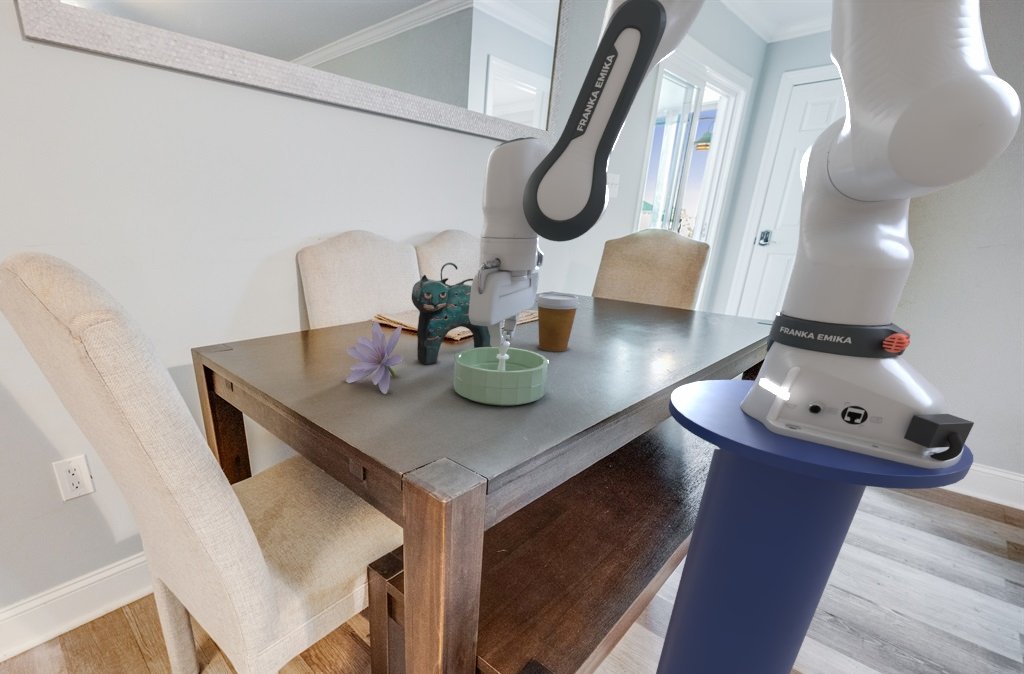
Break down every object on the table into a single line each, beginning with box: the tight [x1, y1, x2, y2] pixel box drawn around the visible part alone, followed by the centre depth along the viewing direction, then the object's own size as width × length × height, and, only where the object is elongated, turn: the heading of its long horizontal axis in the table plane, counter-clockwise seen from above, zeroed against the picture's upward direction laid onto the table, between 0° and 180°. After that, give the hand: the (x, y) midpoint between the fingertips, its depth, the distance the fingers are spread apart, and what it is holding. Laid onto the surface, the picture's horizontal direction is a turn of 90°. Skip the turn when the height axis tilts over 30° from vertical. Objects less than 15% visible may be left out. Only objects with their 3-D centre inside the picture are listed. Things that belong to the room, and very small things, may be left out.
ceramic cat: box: [411, 262, 492, 366], centre depth 97 cm, size 20×6×20 cm, turn 119°
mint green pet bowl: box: [453, 347, 549, 407], centre depth 79 cm, size 16×16×6 cm
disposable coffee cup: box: [535, 293, 581, 352], centre depth 106 cm, size 10×10×12 cm
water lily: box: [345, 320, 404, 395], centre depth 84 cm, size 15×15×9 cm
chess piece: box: [496, 331, 511, 371], centre depth 78 cm, size 5×5×10 cm
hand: (502, 343), depth 77 cm, fingers open, 3 cm apart
